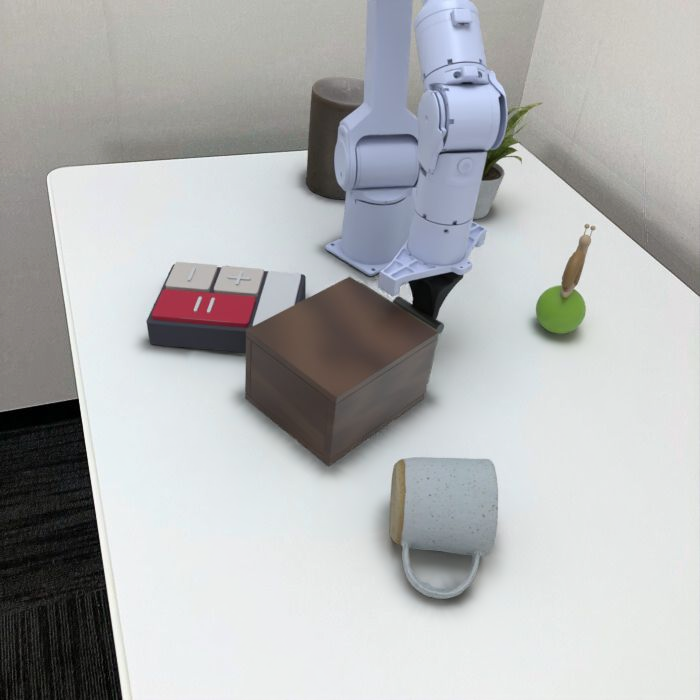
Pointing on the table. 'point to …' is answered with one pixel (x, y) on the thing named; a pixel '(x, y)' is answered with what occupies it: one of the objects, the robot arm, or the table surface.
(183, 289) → the calculator
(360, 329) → the cabinet
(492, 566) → the table surface
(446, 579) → the table surface
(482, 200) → the house plant
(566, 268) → the snail figurine
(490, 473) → the ceramic mug
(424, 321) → the drawer
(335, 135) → the pillar candle
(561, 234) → the table surface
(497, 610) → the table surface
